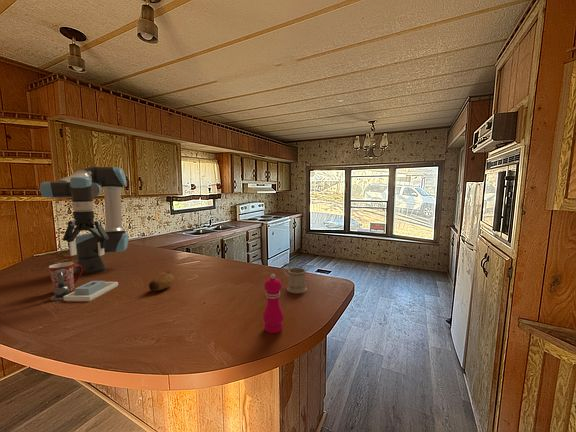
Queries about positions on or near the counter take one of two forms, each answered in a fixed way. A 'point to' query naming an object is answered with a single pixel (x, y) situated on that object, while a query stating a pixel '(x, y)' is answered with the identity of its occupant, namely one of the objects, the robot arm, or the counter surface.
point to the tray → (107, 288)
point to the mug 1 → (65, 274)
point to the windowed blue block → (89, 288)
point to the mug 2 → (296, 279)
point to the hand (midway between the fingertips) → (87, 255)
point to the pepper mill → (273, 306)
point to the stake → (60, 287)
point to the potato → (161, 281)
